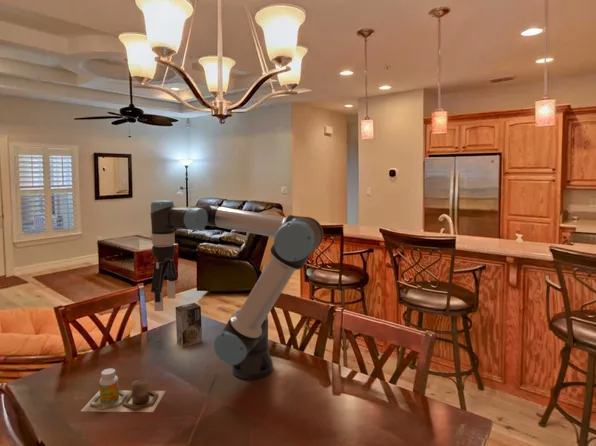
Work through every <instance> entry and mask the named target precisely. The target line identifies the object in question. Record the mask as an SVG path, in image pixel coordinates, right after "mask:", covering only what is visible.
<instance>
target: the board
mask: <svg viewBox="0 0 596 446" xmlns="http://www.w3.org/2000/svg"><path fill="white" fill-rule="evenodd" d="M166 392H167V390H150V389H149V401H148V402H147V403H145V404H142V405H134V404H133V403H132V390H127V389H126V390H123V389H122V390H121V389H119V399H118V401H116V402H115V403H112V404H108V405H104V404H102V403H101V402H100V389H99V390H98V391H97V392H96V394H95V395H94V396H93V397H92V398H91V399H90V400H89V401H88V402H87V403H86V405H85V406H83V408H81V410H80V412H83V413H84V412H87V413H88V412H95V413H98V412H99V413H101V412H102V413H104V412H105V413H106V412H107V413H109V412H111V413H113V412H114V413H154V411H155V410H156V408H157V407H158V405H159V404H160V401H161V400H162V399H163V397H164V395H165V393H166Z"/></svg>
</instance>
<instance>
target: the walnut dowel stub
mask: <svg viewBox="0 0 596 446" xmlns="http://www.w3.org/2000/svg"><path fill="white" fill-rule="evenodd" d="M149 381H150V380H149V379H147V378H139V379H136V380H134V381H132V382H131V391H132V403H133V404H134V405H142V404H145V403H147V402H148V401H149V390H150V385H149V384H150V383H149Z"/></svg>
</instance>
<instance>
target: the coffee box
mask: <svg viewBox="0 0 596 446" xmlns="http://www.w3.org/2000/svg"><path fill="white" fill-rule="evenodd" d="M175 328H176V343H177V344H178V345H179V346H180V347H182V348H184V347H189V346H192V345H195V344H199V343H202V342H203V330H202V329H203V328H202V306H201V305H199V304H198V303H196V302H192V303H187V304H184V305H179V306H175Z"/></svg>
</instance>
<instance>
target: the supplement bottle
mask: <svg viewBox="0 0 596 446" xmlns="http://www.w3.org/2000/svg"><path fill="white" fill-rule="evenodd" d="M98 385H99V390H100V402H101V403H102V404H104V405H108V404H112V403H115V402H116V401H118V399H119V390H120V389H119V377H118V375H116V369H115V368H105V369H104V370H102V371H101V378H100V379H99V383H98Z"/></svg>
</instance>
